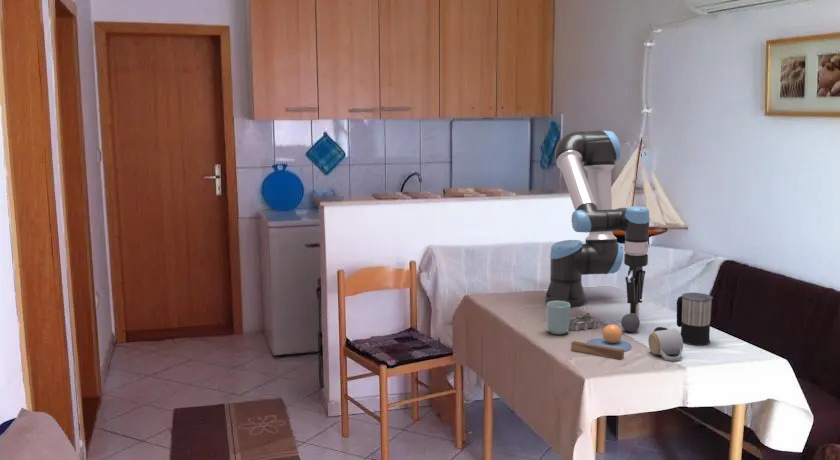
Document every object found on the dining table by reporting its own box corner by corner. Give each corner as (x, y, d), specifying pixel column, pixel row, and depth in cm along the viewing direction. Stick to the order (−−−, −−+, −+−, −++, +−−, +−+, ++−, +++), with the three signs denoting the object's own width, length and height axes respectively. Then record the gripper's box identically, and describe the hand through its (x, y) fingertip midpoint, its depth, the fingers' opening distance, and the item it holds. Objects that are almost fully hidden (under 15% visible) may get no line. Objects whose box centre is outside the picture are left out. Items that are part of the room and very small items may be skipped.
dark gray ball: (622, 308, 255) (617, 324, 252) (640, 312, 252) (636, 328, 249) (625, 316, 259) (620, 332, 257) (642, 320, 257) (638, 336, 254)
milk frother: (716, 342, 242) (719, 296, 240) (683, 351, 234) (685, 304, 232) (680, 331, 254) (682, 287, 252) (647, 339, 246) (648, 294, 244)
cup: (569, 336, 250) (570, 307, 249) (545, 335, 252) (546, 306, 250) (570, 329, 258) (570, 301, 256) (546, 328, 259) (547, 300, 258)
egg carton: (589, 323, 266) (589, 311, 265) (600, 329, 259) (600, 317, 258) (561, 326, 263) (561, 314, 262) (571, 332, 256) (572, 320, 255)
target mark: (596, 336, 250) (596, 335, 250) (638, 343, 243) (638, 342, 243) (578, 347, 239) (578, 347, 239) (622, 355, 231) (622, 355, 231)
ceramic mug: (646, 351, 235) (647, 327, 234) (671, 349, 237) (672, 325, 235) (662, 363, 225) (663, 338, 223) (688, 361, 226) (689, 336, 225)
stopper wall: (573, 348, 238) (573, 340, 238) (623, 357, 229) (624, 349, 229) (571, 350, 237) (571, 342, 236) (621, 359, 228) (621, 351, 227)
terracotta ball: (600, 323, 242) (598, 342, 242) (618, 326, 239) (617, 345, 239) (607, 322, 247) (605, 341, 247) (625, 325, 244) (623, 344, 244)
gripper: (640, 257, 248) (638, 328, 252) (653, 251, 258) (651, 318, 262) (618, 255, 252) (616, 324, 256) (632, 248, 263) (630, 315, 266)
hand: (634, 321), depth 259 cm, fingers closed
